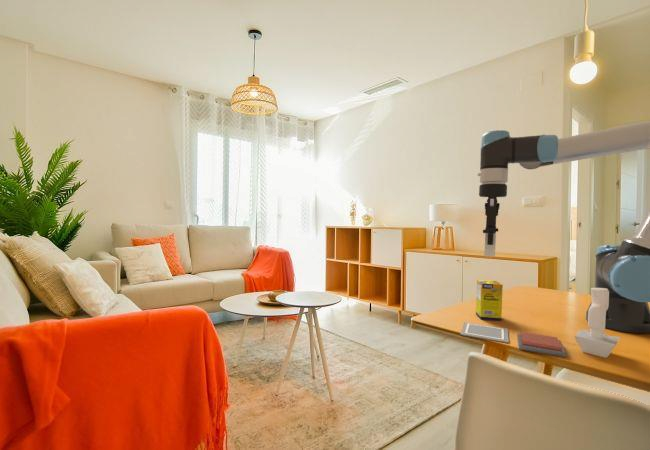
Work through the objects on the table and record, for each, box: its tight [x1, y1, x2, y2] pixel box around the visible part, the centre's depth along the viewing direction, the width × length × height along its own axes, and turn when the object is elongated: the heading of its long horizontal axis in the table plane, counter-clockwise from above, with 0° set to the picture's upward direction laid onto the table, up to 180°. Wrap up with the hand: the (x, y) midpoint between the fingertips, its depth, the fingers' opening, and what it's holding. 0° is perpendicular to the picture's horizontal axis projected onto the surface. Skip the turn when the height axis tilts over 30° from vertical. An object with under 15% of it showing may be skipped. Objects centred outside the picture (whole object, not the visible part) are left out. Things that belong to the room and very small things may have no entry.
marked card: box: [460, 321, 510, 344], centre depth 90 cm, size 11×11×1 cm
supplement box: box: [475, 279, 503, 322], centre depth 103 cm, size 6×6×11 cm
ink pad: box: [516, 331, 567, 358], centre depth 80 cm, size 9×8×2 cm
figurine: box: [573, 287, 621, 359], centre depth 78 cm, size 7×9×15 cm
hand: (490, 253), depth 103 cm, fingers open, 13 cm apart
